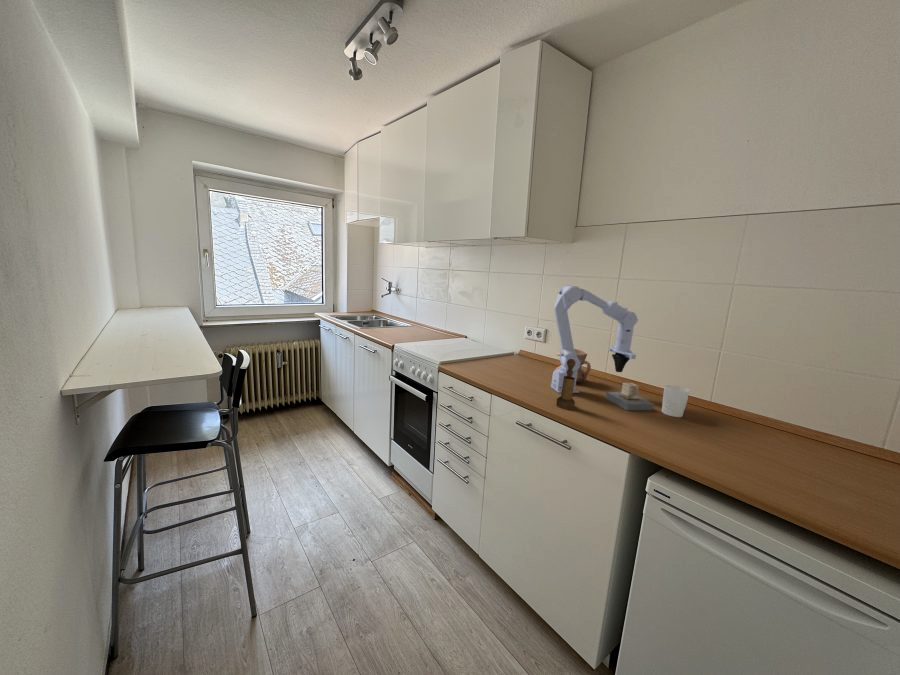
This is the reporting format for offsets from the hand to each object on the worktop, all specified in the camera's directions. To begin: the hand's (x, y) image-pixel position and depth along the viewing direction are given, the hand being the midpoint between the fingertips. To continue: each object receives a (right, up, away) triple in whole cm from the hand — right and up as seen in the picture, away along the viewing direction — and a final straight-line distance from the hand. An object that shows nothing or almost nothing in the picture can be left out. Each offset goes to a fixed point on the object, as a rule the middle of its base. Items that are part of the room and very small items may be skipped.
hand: (618, 371), depth 150 cm
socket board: (-1, -12, -9) cm, 15 cm away
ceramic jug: (-14, -6, +18) cm, 24 cm away
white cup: (+12, -14, -17) cm, 25 cm away
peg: (-1, -12, -9) cm, 15 cm away
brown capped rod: (-28, -11, -16) cm, 34 cm away
